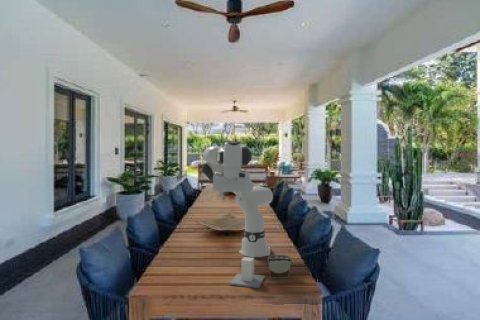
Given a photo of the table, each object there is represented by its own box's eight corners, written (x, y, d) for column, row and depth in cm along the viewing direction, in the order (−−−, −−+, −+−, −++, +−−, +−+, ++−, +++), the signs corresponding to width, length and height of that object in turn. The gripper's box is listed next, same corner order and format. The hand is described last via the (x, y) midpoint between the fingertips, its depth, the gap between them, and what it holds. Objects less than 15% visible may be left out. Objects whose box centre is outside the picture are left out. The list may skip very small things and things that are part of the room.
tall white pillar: (244, 277, 203) (244, 257, 203) (253, 278, 202) (254, 257, 201) (241, 280, 199) (241, 260, 198) (251, 281, 197) (251, 261, 197)
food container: (290, 273, 212) (290, 254, 211) (291, 277, 206) (292, 257, 205) (265, 273, 212) (266, 254, 211) (267, 277, 205) (267, 258, 205)
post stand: (237, 275, 209) (237, 259, 208) (265, 277, 205) (265, 261, 205) (229, 285, 196) (229, 268, 195) (258, 288, 192) (258, 271, 191)
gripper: (210, 173, 210) (210, 200, 211) (250, 174, 205) (250, 202, 206) (214, 172, 216) (214, 198, 217) (253, 173, 211) (253, 200, 212)
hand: (232, 200), depth 211 cm, fingers open, 8 cm apart
